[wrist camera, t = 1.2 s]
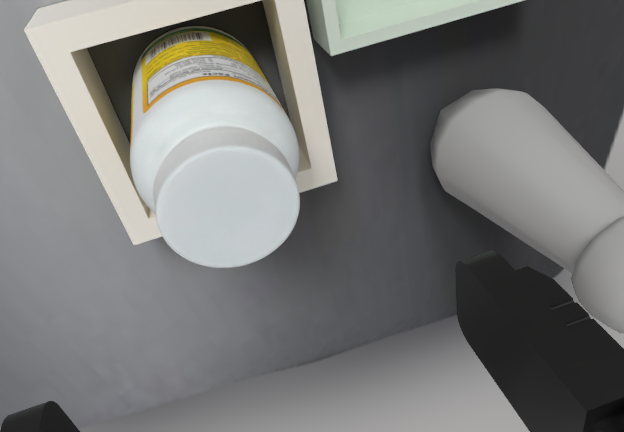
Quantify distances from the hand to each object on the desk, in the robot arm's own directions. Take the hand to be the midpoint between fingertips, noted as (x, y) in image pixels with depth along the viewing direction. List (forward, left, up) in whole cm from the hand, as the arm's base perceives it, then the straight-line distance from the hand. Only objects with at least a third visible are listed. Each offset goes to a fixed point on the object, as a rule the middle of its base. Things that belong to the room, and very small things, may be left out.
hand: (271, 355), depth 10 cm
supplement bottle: (0, 0, -15) cm, 15 cm away
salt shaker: (+6, +12, -15) cm, 20 cm away
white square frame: (0, 0, -15) cm, 15 cm away
